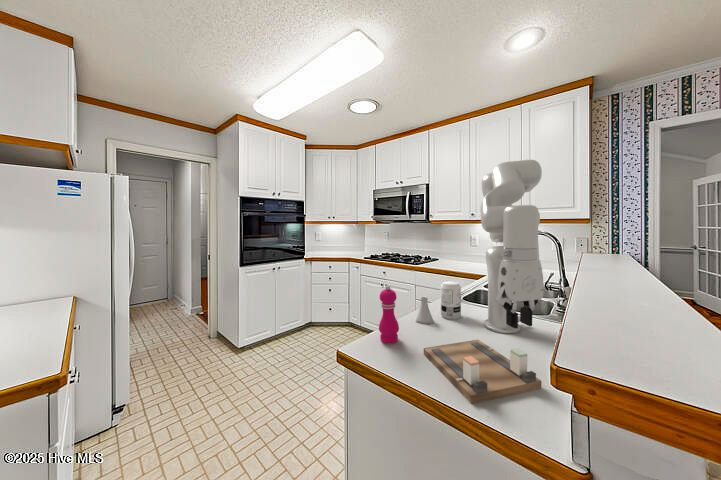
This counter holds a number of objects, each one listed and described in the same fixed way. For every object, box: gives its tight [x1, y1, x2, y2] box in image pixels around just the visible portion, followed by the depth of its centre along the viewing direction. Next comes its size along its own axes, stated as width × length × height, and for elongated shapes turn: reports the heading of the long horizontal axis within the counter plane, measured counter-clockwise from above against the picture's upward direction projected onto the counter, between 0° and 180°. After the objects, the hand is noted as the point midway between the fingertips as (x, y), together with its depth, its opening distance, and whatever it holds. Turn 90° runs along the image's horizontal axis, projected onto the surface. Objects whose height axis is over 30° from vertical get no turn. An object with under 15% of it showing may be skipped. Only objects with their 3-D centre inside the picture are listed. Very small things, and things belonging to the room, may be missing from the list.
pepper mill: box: [378, 284, 400, 345], centre depth 96 cm, size 7×7×20 cm
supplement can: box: [440, 280, 462, 320], centre depth 117 cm, size 8×8×15 cm
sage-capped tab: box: [509, 348, 528, 376], centre depth 70 cm, size 3×2×5 cm
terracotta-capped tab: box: [463, 356, 479, 385], centre depth 67 cm, size 3×2×5 cm
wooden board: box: [423, 339, 542, 404], centre depth 76 cm, size 24×20×4 cm
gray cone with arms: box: [415, 296, 434, 325], centre depth 113 cm, size 7×7×10 cm
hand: (519, 324), depth 69 cm, fingers open, 3 cm apart
